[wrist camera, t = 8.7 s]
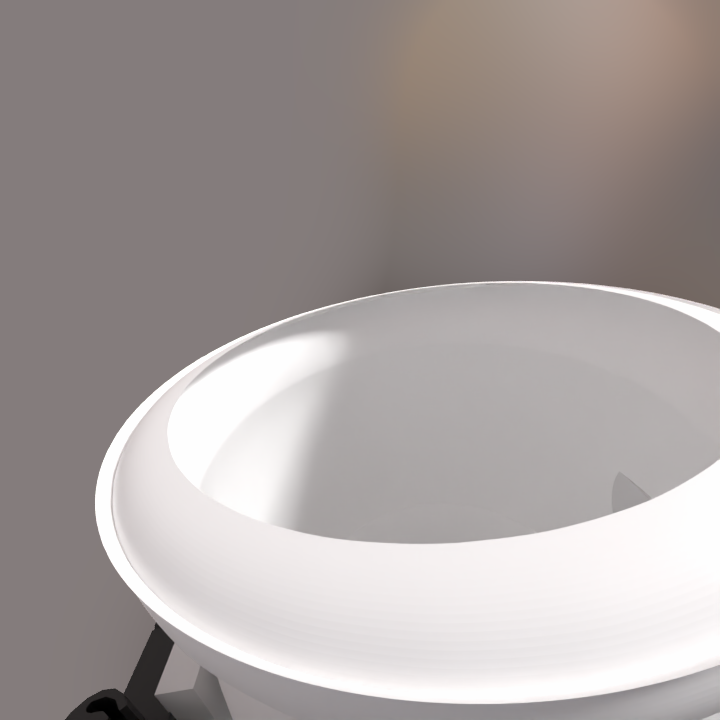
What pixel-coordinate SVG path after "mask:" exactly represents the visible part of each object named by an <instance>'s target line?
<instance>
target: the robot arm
mask: <svg viewBox="0 0 720 720" xmlns="http://www.w3.org/2000/svg"><path fill="white" fill-rule="evenodd" d="M651 499H652V498H651V497H650V496H649V495H648V494H647V493H646V492H644V491H643V490H642V489H641V488H640V487H639V486H637V485H636V484H635V483H634V482H633V481H631V480H630V479H629V478H628V477H626V476H625V475H624V474H622V473H621V472H620V471H619V472H618V474H617V476H616V478H615V481H614V484H613V489H612V510H613V513H616V512H619V511H622V510H625V509H628V508H631V507H634V506H636V505H639V504H642V503H644V502H647V501H649V500H651ZM65 720H233V719H232V716H231V714H230V711H229V709H228V706H227V703H226V701H225V698H224V695H223V692H222V690H221V687H220V684H219V681H218V678H217V677H216V676H215V675H213V674H212V673H210V672H209V671H207V670H206V669H205V668H203V667H202V666H201V665H199V664H198V663H197V662H196V661H194V660H193V659H192V658H191V657H190V656H189V655H187V654H186V653H185V652H184V651H183V650H182V649H181V648H180V647H179V646H178V645H177V644H176V643H175V642H174V641H173V640H172V639H171V638H170V637H169V636H168V635H167V634H166V633H165V632H164V631H163V629H162V628H161V627H160V626H159V625H158V624H157V622H156V624H155V629H154V630H153V631H152V633H151V635H150V637H149V640H148V642H147V644H146V646H145V648H144V650H143V653H142V655H141V657H140V659H139V662H138V664H137V666H136V668H135V670H134V673H133V675H132V677H131V679H130V681H129V684H128V686H127V688H126V690H125V692H124V694H123V693H121V692H120V691H118V690H116V689H107V690H102V691H100V692H98V693H96V694H94V695H92V696H91V697H89V698H87V699H86V700H85V701H84V702H82V704H80V705H79V706H78V707H77V708H76V709H74V710H73V711H72V712H71V713H70V714H69V716H68V717H67V718H66V719H65Z"/></svg>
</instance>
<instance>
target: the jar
mask: <svg viewBox="0 0 720 720" xmlns="http://www.w3.org/2000/svg"><path fill="white" fill-rule="evenodd" d="M619 471H620V472H621V473H622V474H624V475H625V476H626V477H628V478H629V479H630V480H631V481H633V482H634V483H635V484H636V485H637V486H639V487H640V488H641V489H642V490H643V491H644V492H646V493H647V494H648V495H649V496H650V497H651V498H652V499H651V500H649V501H647V502H644V503H642V504H639V505H636V506H634V507H631V508H628V509H625V510H622V511H619V512H616V513H613V510H612V489H613V484H614V481H615V478H616V476H617V474H618V472H619ZM95 510H96V520H97V525H98V529H99V533H100V537H101V540H102V543H103V545H104V548H105V550H106V552H107V554H108V556H109V558H110V560H111V562H112V564H113V565H114V567H115V568H116V570H117V571H118V573H119V574H120V576H121V577H122V579H123V580H124V581H125V582H126V584H127V585H128V586H129V587H130V588H131V589H132V590H133V592H134V593H135V594H136V595H137V597H138V598H139V600H140V601H141V603H142V604H143V606H144V607H145V609H146V610H147V611H148V612H149V614H150V615H151V616H152V618H153V619H154V620H155V621H156V622H157V624H158V625H159V626H160V627H161V628H162V629H163V631H164V632H165V633H166V634H167V635H168V636H169V637H170V638H171V639H172V640H173V641H174V642H175V643H176V644H177V645H178V646H179V647H180V648H181V649H182V650H183V651H184V652H185V653H186V654H187V655H189V656H190V657H191V658H192V659H193V660H194V661H196V662H197V663H198V664H199V665H201V666H202V667H203V668H205V669H206V670H207V671H209V672H210V673H212V674H213V675H215V676H216V677H217V678H218V681H219V684H220V687H221V690H222V692H223V695H224V698H225V701H226V703H227V706H228V709H229V711H230V714H231V716H232V719H233V720H720V309H718V308H715V307H711V306H708V305H704V304H700V303H696V302H693V301H688V300H685V299H680V298H676V297H671V296H667V295H662V294H656V293H651V292H646V291H640V290H633V289H626V288H619V287H611V286H603V285H592V284H581V283H567V282H544V281H500V282H499V281H498V282H476V283H461V284H450V285H439V286H430V287H422V288H415V289H408V290H401V291H396V292H389V293H384V294H378V295H373V296H368V297H364V298H359V299H355V300H350V301H346V302H342V303H338V304H334V305H330V306H327V307H323V308H319V309H316V310H313V311H309V312H306V313H303V314H300V315H297V316H294V317H291V318H288V319H285V320H282V321H279V322H277V323H274V324H271V325H269V326H266V327H264V328H261V329H259V330H256V331H254V332H252V333H249V334H247V335H245V336H243V337H241V338H238V339H236V340H234V341H232V342H230V343H228V344H226V345H224V346H222V347H220V348H218V349H216V350H215V351H213V352H211V353H209V354H207V355H206V356H204V357H202V358H201V359H199V360H197V361H196V362H194V363H193V364H191V365H189V366H188V367H186V368H185V369H183V370H182V371H181V372H179V373H178V374H176V375H175V376H174V377H172V378H171V379H170V380H168V381H167V382H166V383H164V384H163V385H162V386H161V387H160V388H158V389H157V390H156V391H155V392H154V393H153V394H152V395H151V396H149V397H148V398H147V399H146V400H145V401H144V402H143V403H142V404H141V405H140V406H139V407H138V408H137V409H136V410H135V412H134V413H133V414H132V415H131V416H130V417H129V419H128V420H127V421H126V422H125V424H124V425H123V426H122V428H121V429H120V431H119V432H118V434H117V435H116V437H115V438H114V440H113V442H112V444H111V446H110V448H109V449H108V451H107V454H106V456H105V458H104V461H103V463H102V467H101V470H100V473H99V477H98V481H97V488H96V497H95Z"/></svg>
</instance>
